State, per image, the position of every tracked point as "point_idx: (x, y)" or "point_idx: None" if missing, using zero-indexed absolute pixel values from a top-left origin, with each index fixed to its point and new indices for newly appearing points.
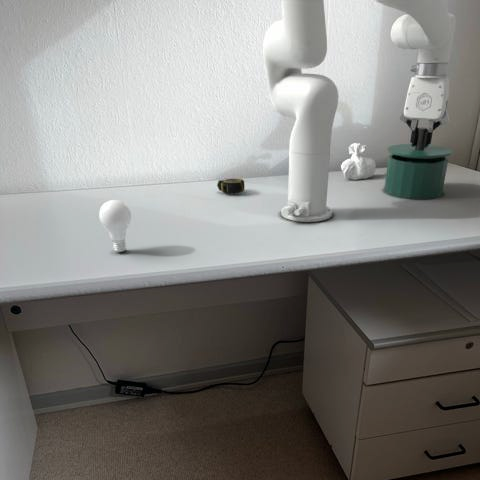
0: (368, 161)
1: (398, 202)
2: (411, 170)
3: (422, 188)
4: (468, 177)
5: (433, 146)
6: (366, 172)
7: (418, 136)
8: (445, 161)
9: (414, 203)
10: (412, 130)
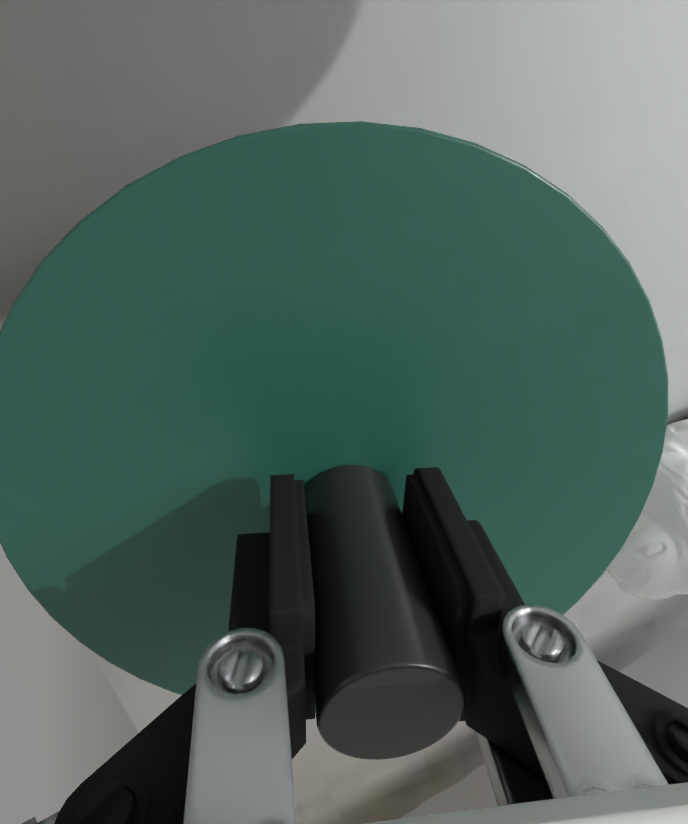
0: (670, 555)
1: (326, 8)
2: None
3: None
4: (156, 711)
5: None
6: None
7: (403, 569)
8: None
9: (213, 42)
10: (530, 617)
